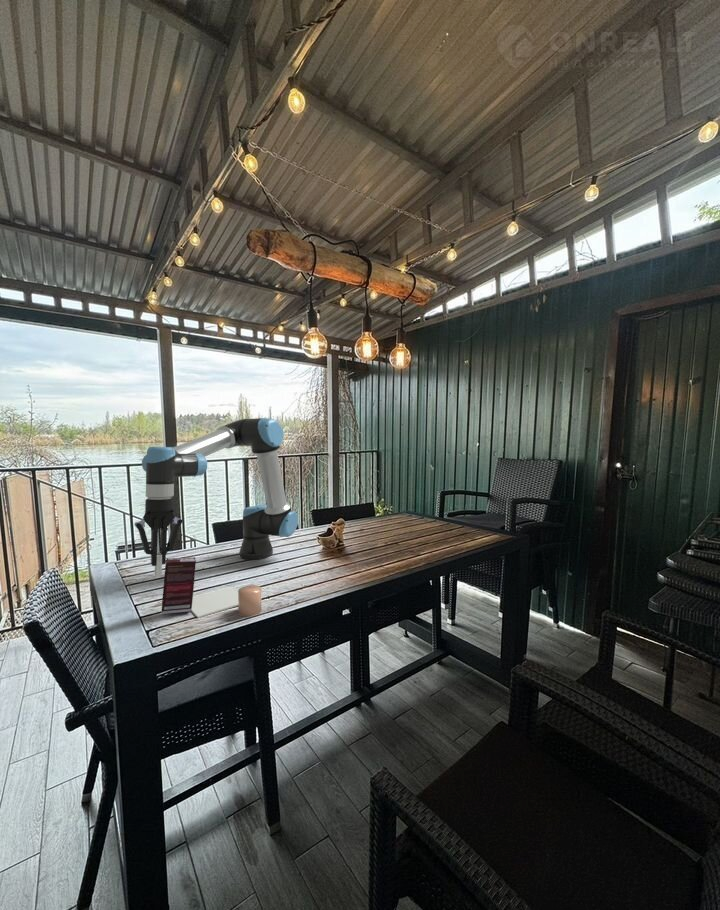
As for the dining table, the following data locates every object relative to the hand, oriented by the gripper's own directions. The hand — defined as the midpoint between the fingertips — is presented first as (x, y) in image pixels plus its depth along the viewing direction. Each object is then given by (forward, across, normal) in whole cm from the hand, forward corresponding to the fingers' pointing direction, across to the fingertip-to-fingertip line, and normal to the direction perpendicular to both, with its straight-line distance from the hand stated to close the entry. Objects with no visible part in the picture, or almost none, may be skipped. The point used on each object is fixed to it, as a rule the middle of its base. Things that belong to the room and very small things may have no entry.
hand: (158, 575), depth 111 cm
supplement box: (+12, -6, -1) cm, 13 cm away
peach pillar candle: (+13, -24, +13) cm, 30 cm away
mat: (+13, -18, -1) cm, 22 cm away
